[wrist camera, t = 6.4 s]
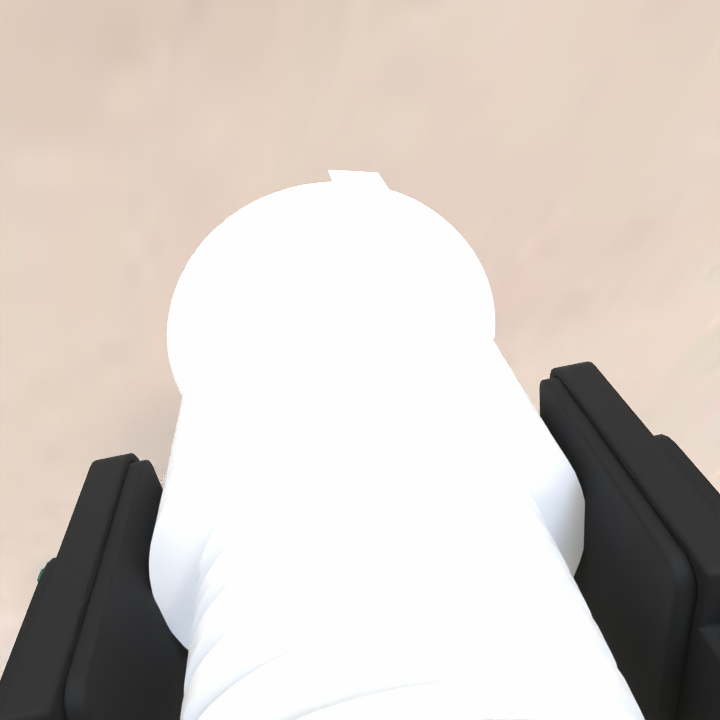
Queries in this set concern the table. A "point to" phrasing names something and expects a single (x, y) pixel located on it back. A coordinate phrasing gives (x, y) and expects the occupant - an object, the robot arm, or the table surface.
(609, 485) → the robot arm
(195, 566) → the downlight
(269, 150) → the table surface
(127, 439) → the table surface
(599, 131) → the table surface
